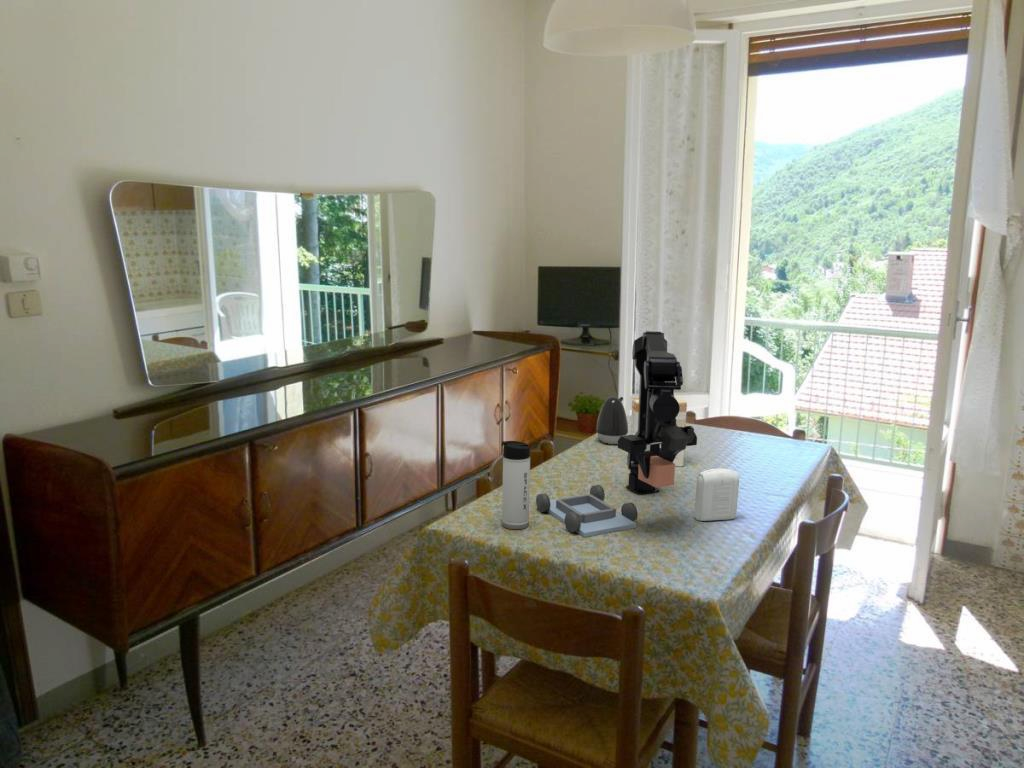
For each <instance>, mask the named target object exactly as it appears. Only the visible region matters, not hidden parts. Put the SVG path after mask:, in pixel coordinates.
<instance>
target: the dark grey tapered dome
mask: <svg viewBox="0 0 1024 768" xmlns="http://www.w3.org/2000/svg"><path fill="white" fill-rule="evenodd" d="M622 401H624V397H623V396H620V397H619V398H618V397H616V396H609V397H608V398H607V399H606V400H605V401H604V403H603V405H602V407H601V408H600V411H599V415H598V418H597V422H596V430H595V431H596V433H597V437H598V439H599V440H600V441H601V442H602V443H604V444H606V443H608V444H607V445H618V444H617V443H618V439H619V438H620V437H621V436H626V435H628V433H629V426H628V424H629V423H628V418H627V412H626V410H625V406H624V405H623V402H622Z"/></svg>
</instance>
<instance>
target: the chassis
mask: <svg viewBox="0 0 1024 768" xmlns="http://www.w3.org/2000/svg"><path fill="white" fill-rule="evenodd" d="M605 496H606V495H605V490H604V488H603V486H602V485H601V484H597V485H591V487H590V488H589V494H587V493H585V494H578V495H572V496H566V497H561V498H560V497H559V498H554V499H550V496H549V495H548V494H547V493H539V494H537V495H536V498H535V506H536V507H537V510H538V512H540V513H545V512H546V513H548V514H549V515H551V516H552V517H554V518H555V519H557V520H558V521H560V522H561V523H563V524H564V525H565V528H566V530H567V532H569V533H578V534H579V535H581V536H582V537H583V538H588V537H592V536H593V537H594V536H599V535H604V534H609V533H615V532H619V531H624V530H630V529H634V528H637V523H636V520H637V519H638V513H639V512H638V508H637V506H636V505H635V504H634V503H633V502H625V503H623V504H622V505H621V508H620V513H619V512H617V508H615V507H614V506H613V505H611V504H609V503H607V502H606V501H605V498H606V497H605Z"/></svg>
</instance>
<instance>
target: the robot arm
mask: <svg viewBox="0 0 1024 768" xmlns="http://www.w3.org/2000/svg"><path fill="white" fill-rule="evenodd" d="M631 353H632V354H631V357H632V360H633V361H634V362H633V363H634V367H635V369H636V370H637V372H638V375H639V391H638V393H639V395H638V398H639V414H638V431H637V432H636V434H635V435H631V434H627V435H626V436H621V437H620V438H619V439H618V444H617V449H620V450H622V451H624V452H626V453H627V457H626V466H627V470H629V473H628V485H625V488H626V489H628V490H630V491H632V492H633V493H635V494H637V495H645V494H651V493H657V492H660V489H659V488H658V487H657V488H656V487H654V486H652V485H650V484H648V483H646V482H644V481H642V480H640V479H638V469H639V465H640V467H641V470H642V472H643V475H644V477H645V478H649V472H650V458H651V456H659V457H661V458H663V459H665V460H668V461H670V462H672V463H673V461H674V459H675V457H676V455H677V454H678V453H679V452H680V451H682V450H684V451H685V450H686V449H687V447H691V446H697V444H698V436H697V434H696V433H695V428H694V427H693V426H692V425H686V426H684V427H678V426H677V425H676V417H677V415H678V413H679V410H680V407H679V403H678V402H677V400H676V398H677V397H675V395H674V393H675V392H674V391H680V390H682V386H683V383H684V379H683V378H684V377H683V368H682V366H681V362H680V361H678V359H677V356H675V353H671V352H668V340H667V339H666V338H665V333H664V332H662V331H655V330H653V331H648V330H647V331H644V332H642V335H641V336H640V337H638V338H636V339H634V340H633V344H632V351H631ZM660 444H661V448H660ZM631 461H633V462H631Z"/></svg>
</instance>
